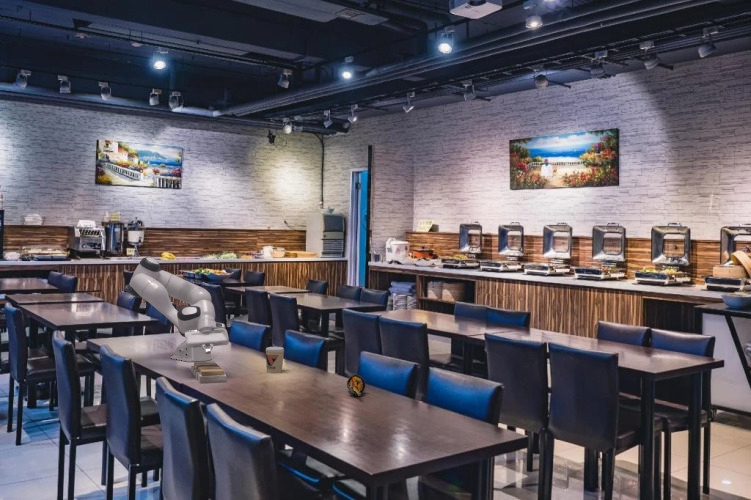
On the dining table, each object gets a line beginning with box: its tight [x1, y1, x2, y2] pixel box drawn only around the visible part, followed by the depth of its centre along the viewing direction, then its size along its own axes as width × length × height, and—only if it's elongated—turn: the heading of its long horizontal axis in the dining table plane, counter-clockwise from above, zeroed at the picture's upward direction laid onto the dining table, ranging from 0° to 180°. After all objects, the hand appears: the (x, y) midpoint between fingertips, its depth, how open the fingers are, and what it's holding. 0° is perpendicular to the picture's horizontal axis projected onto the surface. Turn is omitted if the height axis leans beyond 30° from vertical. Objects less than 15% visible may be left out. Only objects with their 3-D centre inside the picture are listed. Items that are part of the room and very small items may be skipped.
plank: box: [198, 364, 225, 376], centre depth 327 cm, size 13×10×2 cm
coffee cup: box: [265, 346, 285, 374], centre depth 350 cm, size 9×9×12 cm
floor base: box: [190, 360, 227, 384], centre depth 333 cm, size 27×12×5 cm, turn 24°
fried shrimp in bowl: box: [346, 374, 367, 397], centre depth 303 cm, size 9×11×18 cm
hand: (208, 353), depth 326 cm, fingers closed
